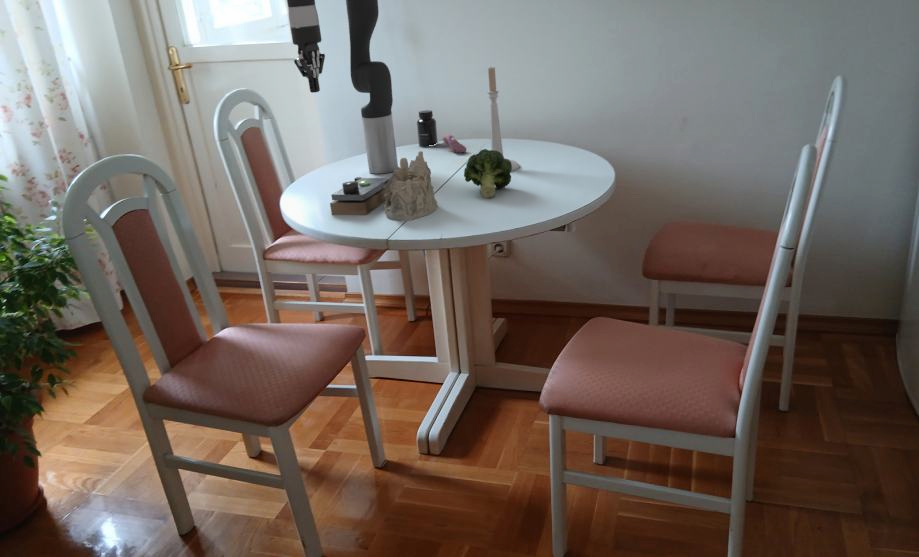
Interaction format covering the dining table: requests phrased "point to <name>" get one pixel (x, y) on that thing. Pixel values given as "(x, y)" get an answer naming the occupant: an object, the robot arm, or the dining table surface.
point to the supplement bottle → (426, 129)
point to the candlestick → (496, 118)
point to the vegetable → (488, 171)
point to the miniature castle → (410, 191)
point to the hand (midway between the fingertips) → (315, 91)
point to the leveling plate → (360, 189)
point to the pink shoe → (453, 144)
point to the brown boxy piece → (358, 204)
